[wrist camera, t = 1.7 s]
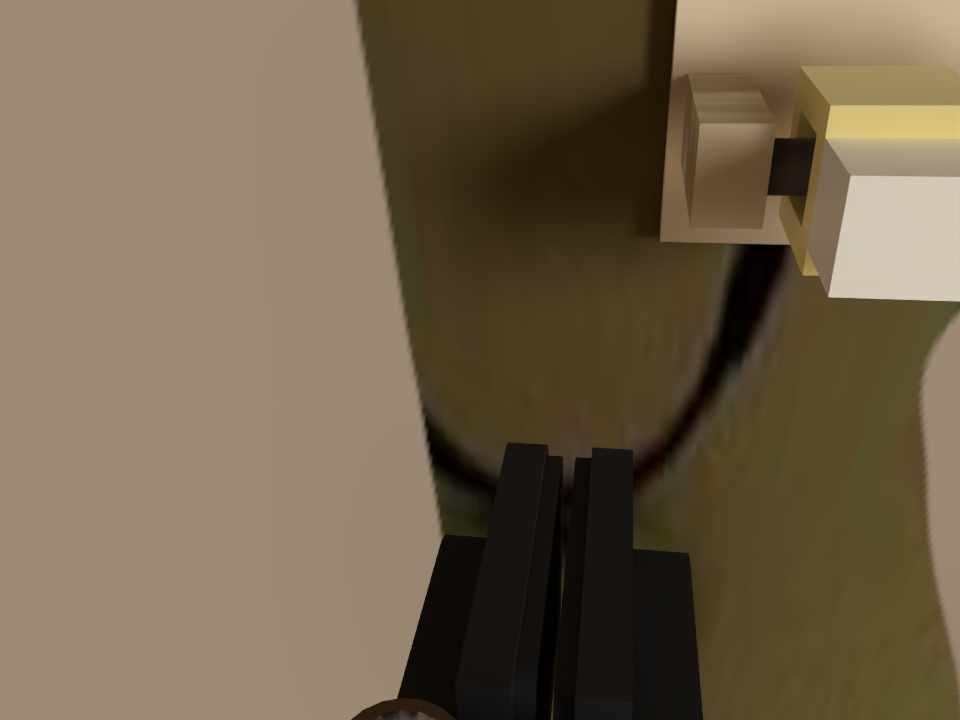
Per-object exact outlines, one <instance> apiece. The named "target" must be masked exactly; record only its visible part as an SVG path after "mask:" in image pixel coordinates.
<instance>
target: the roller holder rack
mask: <svg viewBox="0 0 960 720" xmlns="http://www.w3.org/2000/svg"><path fill="white" fill-rule="evenodd" d="M908 65H946V66H948V67H949V68H951V69H952V70H954V71H955V72H957V73H958V74H960V0H676V13H675V27H674V40H673V54H672V68H671V82H670V96H669V110H668V124H667V138H666V151H665V165H664V179H663V193H662V207H661V221H660V242H697V243H739V244H781V245H790V243H789V240H788V238H787V235H786V233H785V230H784V228H783V225H782V223H781V220H780V218H779V208H780V201H781V196H807V193H808V186H809V180H810V174H811V168H812V161H813V155H814V149H815V143H816V138H790V132H791V125H792V119H793V112H794V105H795V98H796V91H797V84H798V77H799V70H800V66H908Z"/></svg>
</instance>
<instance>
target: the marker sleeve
mask: <svg viewBox="0 0 960 720" xmlns="http://www.w3.org/2000/svg"><path fill="white" fill-rule="evenodd" d="M790 138H816V143H815V149H814V155H813V161H812V168H811V174H810V180H809V186H808V193H807V196H781V201H780V208H779V218H780V220H781V223H782V225H783V228H784V230H785V233H786V235H787V238H788V240H789V243H790V245H791V248H792V250H793V253H794V255H795V258H796V260H797V263H798V265H799V268H800V270H801V273H802V275H812V276H819V277H820V279H821V282H822V284H823V286H824V288H825V291H826V293H827V295H828V297H841V298H871V299H902V300H933V301H960V74H958V73H957V72H955V71H954V70H952V69H951V68H949V67H948V66H946V65H908V66H800V70H799V77H798V84H797V91H796V98H795V105H794V112H793V119H792V125H791V132H790Z"/></svg>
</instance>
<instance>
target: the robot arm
mask: <svg viewBox="0 0 960 720" xmlns="http://www.w3.org/2000/svg"><path fill="white" fill-rule="evenodd" d="M562 501H563V456H548V445H541V444H524V443H508V444H507V446H506V450H505V455H504V460H503V464H502V469H501V474H500V478H499V483H498V487H497V492H496V497H495V501H494V506H493V511H492V515H491V520H490V525H489V529H488V534H487V538H483V537H469V536H456V535H445V536H444V538H443V539H442V542H441V545H440V548H439V551H438V555H437V558H436V562H435V566H434V569H433V573H432V576H431V580H430V584H429V587H428V591H427V594H426V598H425V601H424V605H423V609H422V612H421V615H420V619H419V623H418V626H417V630H416V633H415V637H414V640H413V644H412V648H411V651H410V655H409V658H408V662H407V666H406V669H405V673H404V676H403V680H402V683H401V687H400V690H399V694H398V698H397V699H394V700H388V701H382V702H380V703H378V704H375V705H373V706H371V707H369V708H367V709H364V710H363V711H361V712H360V713H359V714H358V715H356V716H355V717H354V718H353V719H351V720H551V712H552V702H553V691H554V705H553V720H703V713H702V701H701V689H700V676H699V664H698V652H697V640H696V627H695V615H694V603H693V590H692V578H691V566H690V558H689V555H688V553H679V552H666V551H653V550H640V549H633V450H626V449H609V448H592V458H580V457H576V461H575V471H574V482H573V492H572V503H571V513H570V524H569V534H568V545H567V555H566V566H565V576H564V587H563V597H562V608H561V573H562ZM560 614H561V618H560ZM559 628H560V629H559ZM555 670H556V671H555ZM554 681H555V685H554Z"/></svg>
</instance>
